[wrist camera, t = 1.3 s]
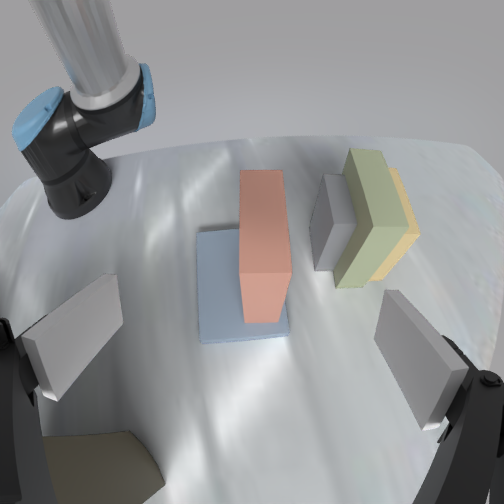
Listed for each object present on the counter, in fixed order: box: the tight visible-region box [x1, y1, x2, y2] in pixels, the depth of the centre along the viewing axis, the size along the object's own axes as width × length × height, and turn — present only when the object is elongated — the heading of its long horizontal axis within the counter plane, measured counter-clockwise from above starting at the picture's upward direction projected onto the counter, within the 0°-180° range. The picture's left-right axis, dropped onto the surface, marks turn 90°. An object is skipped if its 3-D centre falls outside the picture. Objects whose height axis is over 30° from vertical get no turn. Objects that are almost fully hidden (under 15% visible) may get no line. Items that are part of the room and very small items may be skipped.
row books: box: [333, 148, 420, 289], centre depth 40 cm, size 12×8×17 cm, turn 1°
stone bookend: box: [309, 174, 357, 271], centre depth 42 cm, size 8×3×13 cm, turn 1°
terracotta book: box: [239, 170, 292, 323], centre depth 35 cm, size 12×4×16 cm, turn 1°
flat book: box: [197, 229, 290, 344], centre depth 44 cm, size 17×12×2 cm
